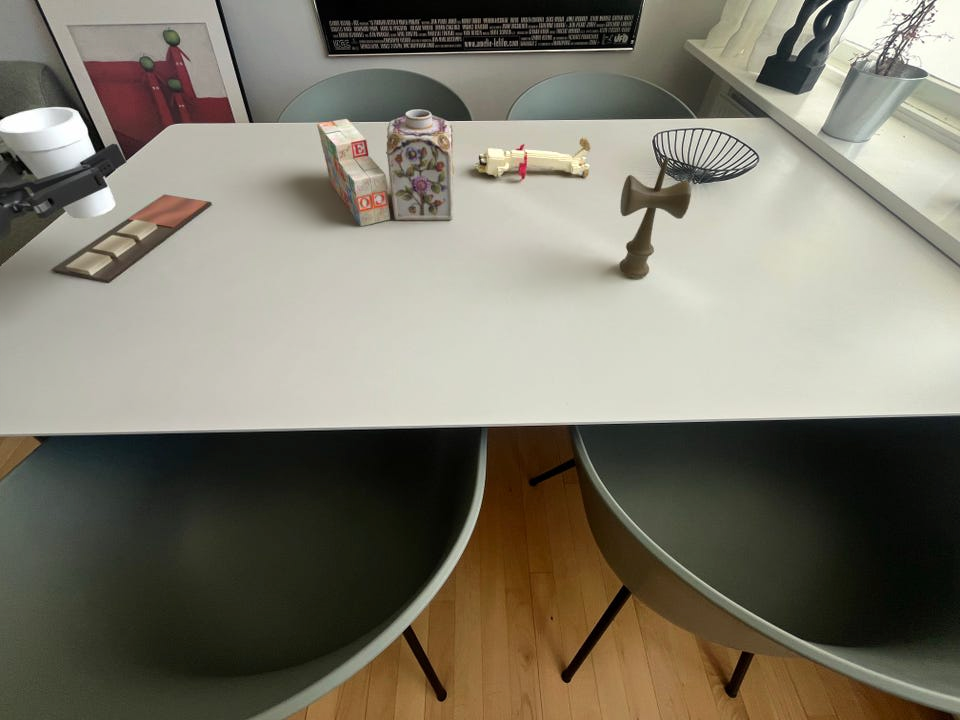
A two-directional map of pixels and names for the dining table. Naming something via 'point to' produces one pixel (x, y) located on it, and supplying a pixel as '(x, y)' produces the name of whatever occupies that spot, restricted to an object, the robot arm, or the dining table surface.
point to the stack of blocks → (354, 172)
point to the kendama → (649, 216)
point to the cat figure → (533, 160)
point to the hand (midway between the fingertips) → (89, 150)
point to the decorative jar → (421, 166)
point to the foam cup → (55, 150)
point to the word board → (132, 239)
